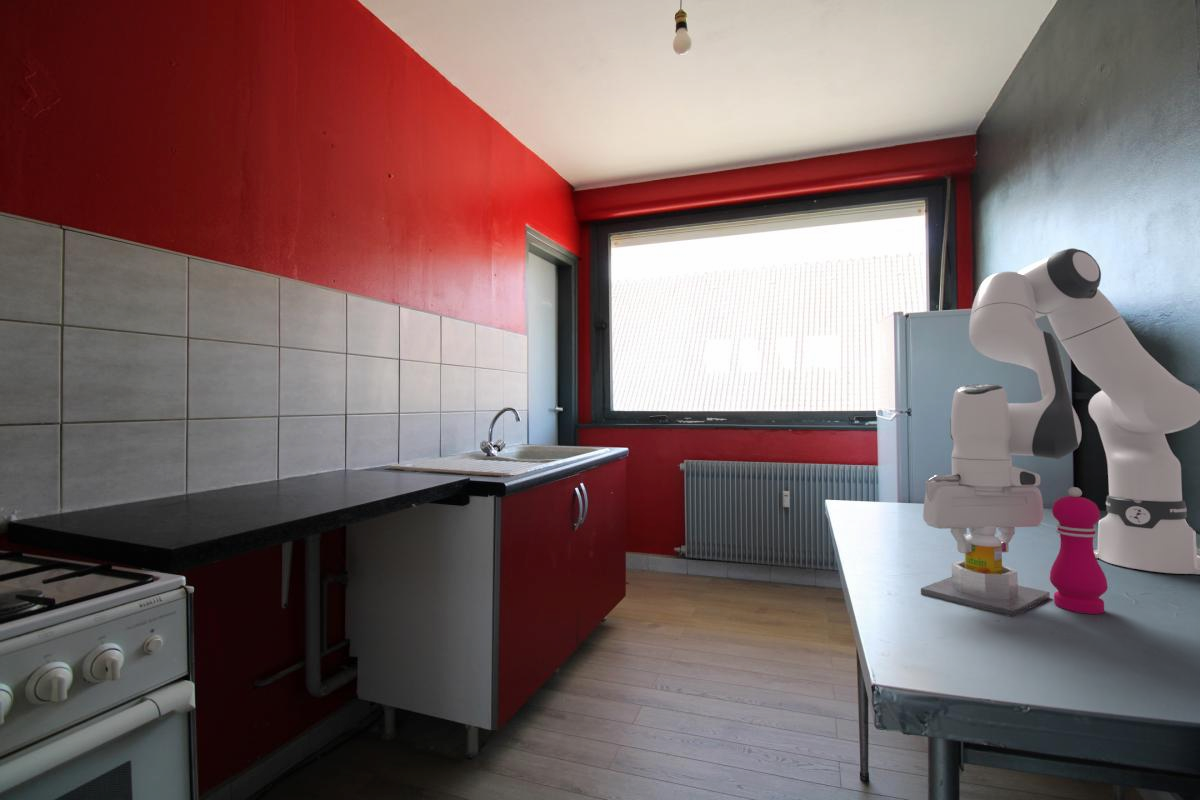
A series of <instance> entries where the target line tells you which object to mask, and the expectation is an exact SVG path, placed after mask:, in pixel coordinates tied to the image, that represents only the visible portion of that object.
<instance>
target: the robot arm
mask: <svg viewBox="0 0 1200 800" xmlns="http://www.w3.org/2000/svg"><path fill="white" fill-rule="evenodd" d="M1101 278H1102V271H1101V267H1100V266H1099V264H1098V262H1097V260H1096V259H1095V258H1094V257H1093V256H1092V255H1091V254H1090V253H1088V252H1087V251H1084V250H1081V249H1078V248H1073V247H1071V248H1067V249H1063V250H1060V251H1057V252H1055V253H1052V254H1051V255H1049V256H1048V257H1047V258H1043V259H1041V260H1038V261H1036V262H1034V263H1032V264H1030V265H1028V266H1026V267H1024V268H1022V269H1020V270H1019V271H1018V272H1016V271H999V272H997V273H994V274H991V275H990V276H988V277H986V278H984V280H983V281H982V282H981V284H980V285H979V286H978V289H977V291H976V295H975V296H974V300H973V303H972V307H971V311H970V317H969V326H968V335H969V341H970V343H971V345H972V347H973V348H974V349H975V350H976V351H977V352H978V353H980V354H982V356H985V357H987V358H989V359H991V360H994V361H997V362H1002V363H1007V364H1013V365H1016V366H1021V367H1025V368H1027V369H1030V370H1032V371H1034V372H1035V373H1036V374H1037V378H1038V383H1039V388H1040V392H1041V393H1040V394H1041V399H1040V400H1038V401H1035V402H1015V403H1013V402H1012V403H1011V402H1010V403H1009V401H1008V396H1007V393H1006V392H1007V391H1006V389H1005V387H1004V386H1002V385H999V384H992V383H991V384H990V383H979V384H978V383H977V384H971V385H963V386H960V387H959V388H956V389H955V391H954V393H953V397H952V403H951V405H952V406H951V412H950V414H951V415H950V419H949V420H950V423H949V427H950V429H949V430H950V440H952V441H953V448H952V452H951V474H946V475H940V474H936V475H933V476H932V477H931V478H929V479H928V480H927V481H926V483H925V485H924V486H925V495H924V500H923V501H924V502H923V510H922V511H923V513H922V514H923V515H922V517H923V522H924V523H925V524H926V525H927V526H929V527H932V528H936V529H941V530H942V529H943V530H944V529H945V530H946V529H950V533H951V535H952V536H953V538H954V540H955V541H956V542H957V543H956V544H957V545H956V546H957V551H958V553H961V554H965V553H972V551H973V550H972V543H968V542H967V540H966V538H965V537H966V536H965V535H967V529H969V528H983V527H988V526H995V527H996V528H997V530H998V531H999V532H1000V533H999V535H998V537H997V538H998V539H1000V541H1001V547H1002V553H1009V549H1010V548H1009V543H1010V542H1011V540H1012V538H1014V535H1015V534H1016V533H1015V530H1016V529H1015V528H1027V527H1028V528H1029V527H1031V528H1032V527H1039V526H1041V524H1042V522H1043V520H1044V505H1043V502H1044V501H1043V496H1042V493H1041V490H1040V488H1038V487H1037V486H1040V485H1041V476H1040V474H1038V473H1037V472H1034V471H1030V470H1027V469H1024V468H1021V467H1019V466H1015V465H1013V459H1012V455H1013V456H1033V457H1039V458H1047V459H1056V460H1059V459H1061V458H1064V457H1066V456H1067V455H1069V454H1071V453H1072V452H1074V451H1075V450H1077V449H1078V448H1079V447H1080V443H1081V441H1082V435H1083V434H1082V425H1081V422H1080V419H1079V416H1078V414H1077V413H1076V410H1075V408H1074V406H1073V405H1072V401H1071V397H1070V389H1069V385H1068V382H1067V377H1066V372H1065V369H1064V364H1063V359H1062V357H1061V355H1060V351H1059V348H1058V344H1057V342H1056V339H1055V337H1054V336H1053V335H1052V333H1050V332H1047V331H1045V330H1042V329H1041V328H1039V326H1038V325H1037V322H1036V320H1037V319H1039V318H1042V317H1044V316H1047V318H1048V321H1049V324H1050V326H1051V327H1052V330H1053V332H1054V334H1055V335H1056V337H1057V339H1058V340H1059V342H1060V343H1061V345H1062V347H1063V348H1064V350H1065V352H1066V353H1067V354H1068V356H1069V358H1070V359H1071V360H1072V362H1073V365H1075V367H1076V368H1077V370H1078V371H1079V372H1080V373H1081V374H1082V375H1084V376H1085V377H1086V378H1088V379H1089V380H1091V381H1092V382H1093V383H1094V384H1095V385H1096V386H1097V387H1099V389H1100V391H1098V392H1097V393H1095V394H1094V395H1093V396H1092V397H1091V399H1089V403H1088V405H1087V407H1088V408H1087V409H1088V414H1089V416H1090V418H1091V419H1092V420H1093V421H1094V423H1095V425H1096V426H1097V430H1098V433H1099V437H1100V439H1101V442H1102V446H1103V449H1104V452H1105V457H1106V464H1107V475H1108V477H1107V478H1108V495H1106V501H1105V505H1106V512H1107V515H1105V516H1104V517H1102V518H1101V519H1099V520H1098V521H1097V523H1098V524H1097V525H1098V526H1097V527H1098V528H1097V549H1093V550H1094V554H1095V557H1096V559H1098V558H1099V560H1102V561H1104V562H1106V563H1109V564H1111V565H1112V564H1113V565H1116V566H1120V567H1125V568H1128V569H1133V570H1135V569H1136V570H1141V571H1147V572H1156V573H1163V574H1164V573H1165V574H1175V575H1177V574H1178V575H1179V574H1180V575H1182V574H1184V575H1189V574H1191V575H1200V548H1198V547H1197V533H1196V531H1195V530H1194V529H1193V528H1192V527H1191V526H1190V525H1189V524H1188V523H1187V521H1186V519H1187V517H1188V515H1187V511H1188V510H1187V506H1186V501H1185V500H1183V489H1182V487H1183V484H1182V465H1181V462H1180V460H1179V458H1177V457H1176V455H1175V454H1174V453H1173V451H1172V449H1171V447H1170V445H1169V443H1168V441H1167V437H1166V434H1170V433H1171V434H1172V433H1175V432H1179V431H1183V430H1185V429H1189V428H1191V427H1192V426H1194V425H1196V424H1197V423H1198V422H1199V421H1200V392H1199V391H1198V390H1197V389H1195V388H1194V387H1192V386H1190V385H1187V384H1186V383H1184V382H1182V381H1181V380H1179V379H1178V378H1177V377H1175V376H1174V375H1173V374H1172V373H1170V372H1169V371H1168V370H1167V369H1166V368H1165V367H1164V366H1162V365H1161V363H1159V362H1158V361H1157V360H1156V359H1155V358H1154V357H1152V355H1150V353H1149V352H1148V351H1147V350H1146V349H1145V348H1144V347H1143V346H1142V345H1141V343H1140V342H1139V340H1138V339H1137V338H1136V336H1135V335H1134V333H1133V331H1132V330H1131V328H1130V327H1129V326H1128V324H1127V323H1126V321H1125V320H1124V318H1123V317H1122V315H1121V314H1120V313H1119V311H1118V310H1117V308H1116V306H1114V305H1113V304H1112V302H1111V301H1110V300H1109V298H1107V296H1106V295H1104V293H1103V292H1101V290H1100V289H1099V286H1100V284H1101Z"/></svg>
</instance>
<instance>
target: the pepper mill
mask: <svg viewBox="0 0 1200 800" xmlns="http://www.w3.org/2000/svg"><path fill="white" fill-rule="evenodd" d="M1082 495H1083V491H1082V490H1081V489H1080V488H1079V487H1075V486H1071V487H1070V488H1069V489H1067V496H1063V497H1060V498H1058V499H1057V500H1055V501H1054V502H1053V504H1052V508H1051V512H1052V516H1053V517H1054V519H1056V520H1057V522H1058V523H1057V524H1056V527H1057V530H1056V533H1058V534H1059V538H1060V546H1059V547H1060V548H1059V550H1058V551H1059V552H1058V554H1057V556H1056V558H1055V560H1054V562H1053V564H1052V566H1051V568H1050V571H1049V572H1050V573H1049V581H1050V583H1051V585H1052V586H1053V587H1054V588H1055V589H1056V590H1057V591H1056V592H1054V594H1053V601H1054V605H1055V604H1056V605H1055V606H1057V607H1058V606H1059V607H1058V608H1060V607H1061V609H1063V608H1064V610H1066V609H1067V610H1066V611H1069V610H1070V612H1074V611H1075V612H1074V613H1079V612H1080V613H1079V614H1085V613H1088V615H1099V614H1100V615H1101V614H1103V613H1104V612H1105V600H1103V599H1102V598H1101V597H1102V595H1104V594H1105V593H1106V592H1107V591H1108V581H1107V577H1106V575H1105V573H1104V571H1103V569H1102V568H1101V565H1100V564H1099V562H1098V559H1097V558H1096V557H1095V554H1094V550H1095V549H1094V538H1095V537H1097V532H1096V531H1097V528H1096V527H1094V525H1095V524H1097V523H1098V522H1099V520H1100V517H1101V515H1100V513H1101V512H1100V509H1099V507H1098V505H1097V504H1096V503H1095V502H1093V501H1092V500H1090V499H1089V498H1085V497H1082Z"/></svg>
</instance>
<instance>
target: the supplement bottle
mask: <svg viewBox="0 0 1200 800" xmlns="http://www.w3.org/2000/svg"><path fill="white" fill-rule="evenodd" d="M968 532H970V533H969V534H968V535H967V534H966V536H964V537H965V538H966V540H967V542H968V543H972V550H973V551H972V553H964V561H965V569H968V570H973V571H978V572H983V573H1002V565H1003V554H1002V553H1003V552H1002V547H1001V541H1000V539H998V537H997V536H995V535H996V534H997V527H995V526H988V527H983V528H968Z"/></svg>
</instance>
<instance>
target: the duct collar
mask: <svg viewBox="0 0 1200 800" xmlns="http://www.w3.org/2000/svg"><path fill="white" fill-rule="evenodd" d="M1018 582H1019V580H1018V570H1015V569H1014V568H1011V567H1008V566H1007V565H1003V564H1002V573H983V572H978V571H973V570H968V569H965V560H958V561H956V562H953V563H951V577H950V576H949V577H948V578H944V579H942V580H939V581H936V582H933V583H932V584H931V583H930V584H929V585H925V586H923V587H921V588H920V595H925V596H926V597H927V596H928V597H932V598H935V599H941V600H943V601H946V602H947V601H949V602H951V603H955V604H960V605H965V606H968V607H971V608H974V609H975V608H976V609H979V610H984V611H988V612H992V613H995V614H999V615H1004V616H1007V617H1011V618H1015V617H1017V616H1018V614H1019V615H1020V614H1022V613H1024V612H1025V610H1026V611H1027V609H1028V608H1030V607H1032V606H1033V607H1035V606H1037V605H1039V604H1040V603H1039V602H1041V601H1043V600H1045V599H1046V600H1048V599H1050V598H1051V597H1050V596H1051V595H1050V593H1051V592H1050V591H1047V590H1042V589H1039V588H1038V589H1037V588H1031V587H1027V586H1022V585H1019V583H1018ZM1049 597H1050V598H1049ZM1047 598H1048V599H1047ZM1046 600H1045V601H1046ZM1043 602H1044V601H1043ZM1038 603H1039V604H1038ZM1041 603H1042V602H1041ZM1036 604H1037V605H1036ZM1034 605H1035V606H1034ZM1033 607H1032V608H1033ZM1030 609H1031V608H1030ZM1028 610H1029V609H1028ZM1023 611H1024V612H1023ZM1021 612H1022V613H1021ZM1016 615H1017V616H1016ZM1014 616H1015V617H1014Z"/></svg>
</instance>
